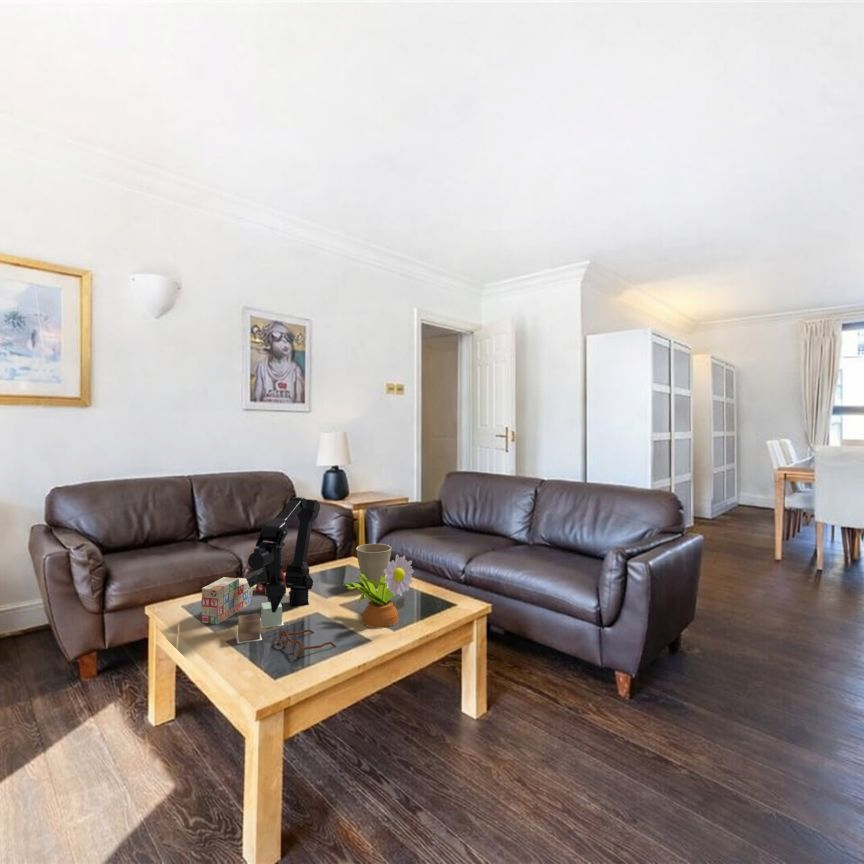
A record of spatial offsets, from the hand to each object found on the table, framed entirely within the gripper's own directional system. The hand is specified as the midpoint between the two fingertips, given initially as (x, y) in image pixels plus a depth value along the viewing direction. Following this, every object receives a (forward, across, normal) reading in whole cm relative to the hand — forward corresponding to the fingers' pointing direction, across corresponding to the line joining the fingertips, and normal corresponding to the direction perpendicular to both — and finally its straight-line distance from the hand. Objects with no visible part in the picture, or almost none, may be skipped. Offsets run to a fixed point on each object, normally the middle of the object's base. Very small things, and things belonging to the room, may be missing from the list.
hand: (271, 607), depth 167 cm
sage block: (+5, 0, 0) cm, 5 cm away
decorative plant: (+6, +9, +36) cm, 37 cm away
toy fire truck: (+6, -33, +4) cm, 34 cm away
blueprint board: (+5, +6, -5) cm, 10 cm away
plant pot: (+6, -26, +45) cm, 52 cm away
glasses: (+6, +21, +8) cm, 23 cm away
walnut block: (+5, +9, -8) cm, 13 cm away
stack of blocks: (+6, -15, -13) cm, 21 cm away
